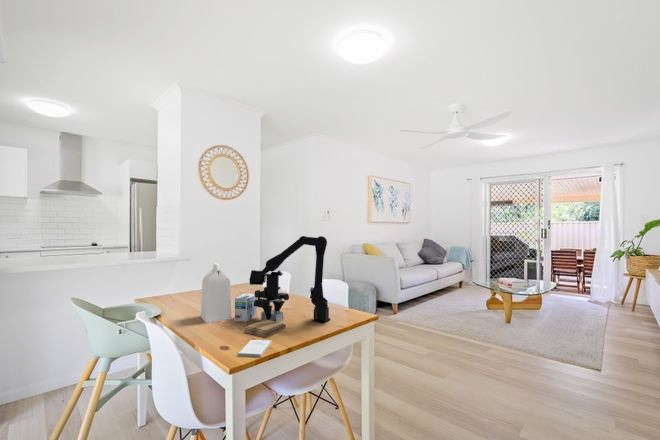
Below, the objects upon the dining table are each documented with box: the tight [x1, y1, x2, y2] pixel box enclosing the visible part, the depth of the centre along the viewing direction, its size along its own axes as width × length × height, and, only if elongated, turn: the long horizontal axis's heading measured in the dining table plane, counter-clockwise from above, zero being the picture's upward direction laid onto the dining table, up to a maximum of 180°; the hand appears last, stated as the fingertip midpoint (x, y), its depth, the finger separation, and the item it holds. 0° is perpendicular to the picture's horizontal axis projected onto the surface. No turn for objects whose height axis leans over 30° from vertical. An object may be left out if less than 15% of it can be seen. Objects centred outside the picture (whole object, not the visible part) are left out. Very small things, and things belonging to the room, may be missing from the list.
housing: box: [260, 309, 284, 323], centre depth 139 cm, size 9×5×5 cm, turn 60°
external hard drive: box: [237, 339, 272, 358], centre depth 106 cm, size 2×8×12 cm
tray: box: [244, 320, 287, 339], centre depth 125 cm, size 12×12×2 cm
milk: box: [200, 262, 233, 324], centre depth 143 cm, size 12×12×26 cm
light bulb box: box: [234, 293, 258, 323], centre depth 143 cm, size 11×7×11 cm, turn 168°
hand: (272, 318), depth 139 cm, fingers closed on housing, 5 cm apart
